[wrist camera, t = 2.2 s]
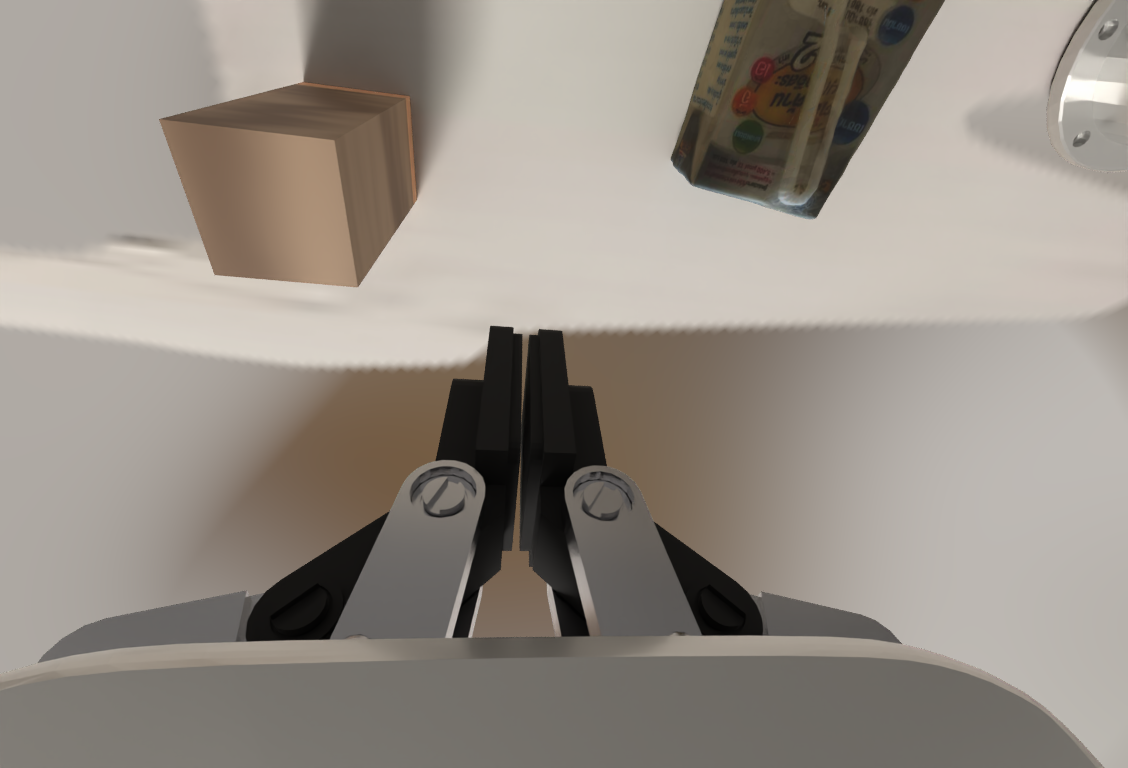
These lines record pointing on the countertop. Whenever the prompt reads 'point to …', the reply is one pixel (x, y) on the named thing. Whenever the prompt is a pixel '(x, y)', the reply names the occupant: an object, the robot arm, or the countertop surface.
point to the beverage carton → (793, 95)
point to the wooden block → (297, 180)
